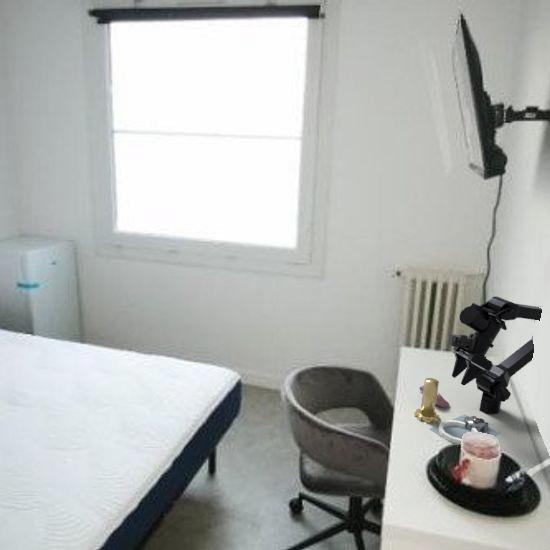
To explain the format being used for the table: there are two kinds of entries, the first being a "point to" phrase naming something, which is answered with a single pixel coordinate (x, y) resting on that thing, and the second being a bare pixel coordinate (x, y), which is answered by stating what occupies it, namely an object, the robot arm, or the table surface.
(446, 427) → the gear board
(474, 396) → the table surface
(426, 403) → the brass gear
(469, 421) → the fixed gear
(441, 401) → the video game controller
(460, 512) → the table surface
